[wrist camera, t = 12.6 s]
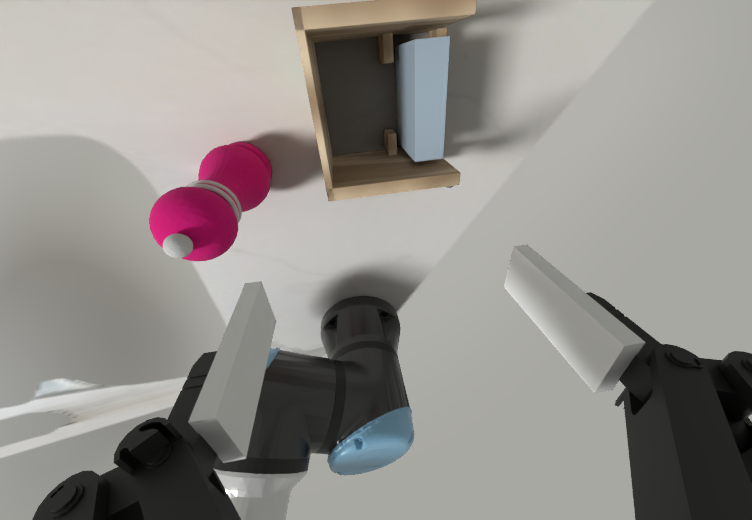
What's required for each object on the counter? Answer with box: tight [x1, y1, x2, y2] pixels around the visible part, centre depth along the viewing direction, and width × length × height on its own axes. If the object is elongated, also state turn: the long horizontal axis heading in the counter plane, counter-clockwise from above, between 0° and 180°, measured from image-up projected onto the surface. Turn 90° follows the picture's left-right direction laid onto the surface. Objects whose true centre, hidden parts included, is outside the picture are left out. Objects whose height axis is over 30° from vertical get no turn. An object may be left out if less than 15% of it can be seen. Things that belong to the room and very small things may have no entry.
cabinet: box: [292, 0, 477, 201], centre depth 28 cm, size 15×14×12 cm
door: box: [395, 36, 450, 162], centre depth 30 cm, size 10×4×9 cm, turn 5°
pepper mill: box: [149, 142, 272, 261], centre depth 27 cm, size 7×7×20 cm
